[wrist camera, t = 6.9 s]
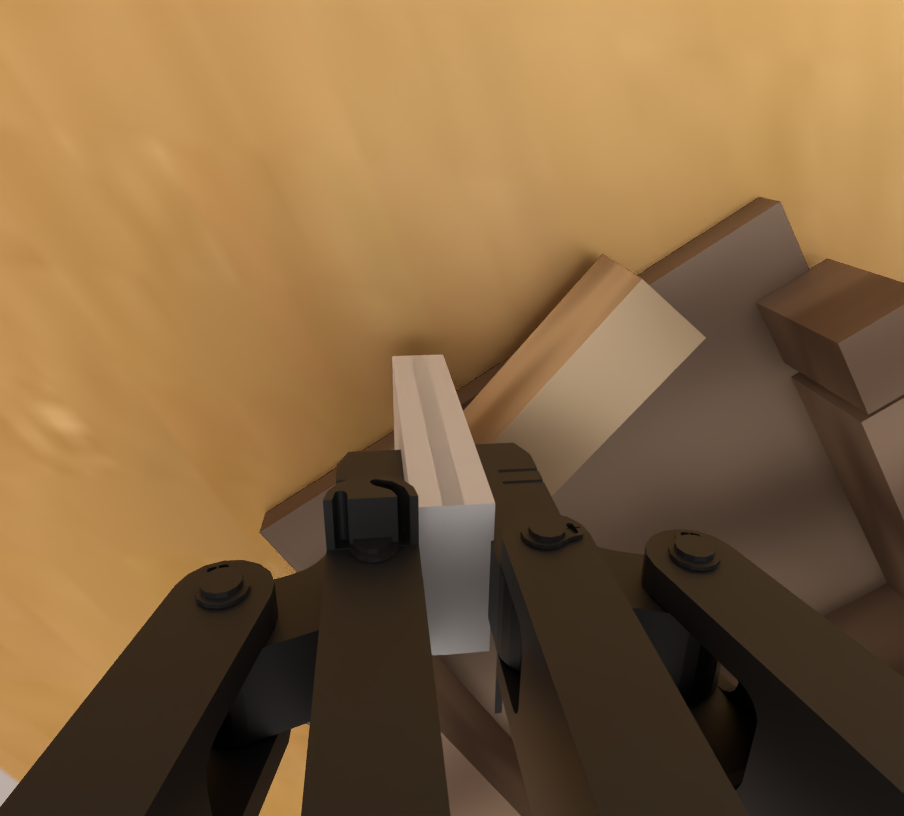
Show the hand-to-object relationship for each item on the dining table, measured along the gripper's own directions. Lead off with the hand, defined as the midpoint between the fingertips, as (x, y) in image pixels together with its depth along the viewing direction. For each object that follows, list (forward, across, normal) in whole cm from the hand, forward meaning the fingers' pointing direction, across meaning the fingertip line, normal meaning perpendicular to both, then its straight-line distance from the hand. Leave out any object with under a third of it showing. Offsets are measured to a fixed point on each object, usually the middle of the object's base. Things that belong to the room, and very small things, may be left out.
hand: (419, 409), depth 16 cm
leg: (+1, +1, -2) cm, 3 cm away
